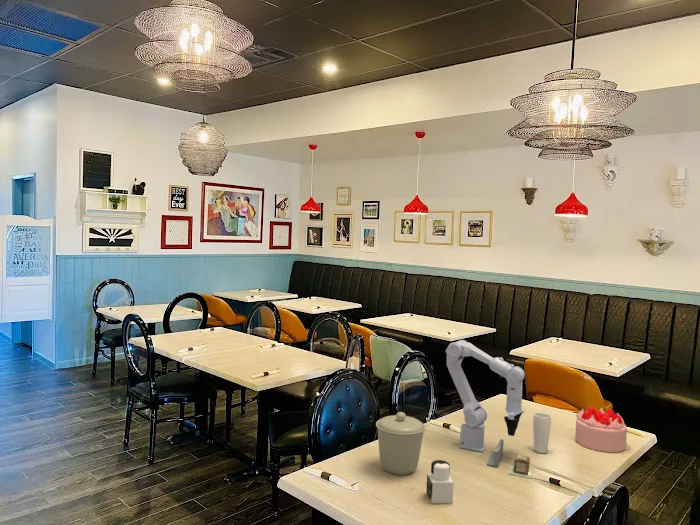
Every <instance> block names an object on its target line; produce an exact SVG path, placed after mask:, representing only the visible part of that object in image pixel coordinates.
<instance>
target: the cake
mask: <svg viewBox="0 0 700 525" xmlns="http://www.w3.org/2000/svg"><path fill="white" fill-rule="evenodd" d="M575 416H576V420H575V433H574V434H575V436H574V437H575V438H574V439H575V441H576V443H577V444H579V445H580V446H582V447H585V448H586V449H589V450H593V451H597V452H602V453H610V454H611V453H613V454H614V453H621V452H623V451H625V450H626V447H627V437H628V436H627V433H628V427H627V425H626V424H625V421H624V419H623V418H622V416H621V415H620V414H619V412H616V413H615V411H614V410H613V409H611V408H609V409H607V410H606V412H605V411H604V409H603V407H601V408H600V409H599V410H597V411H596V409H595V408H594V407H593V406H589V407H588V408H587V409H586V410H584V408H582V409H581V410H580V411H578V412H577V413H576V414H575Z"/></svg>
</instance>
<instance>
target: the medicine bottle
mask: <svg viewBox="0 0 700 525" xmlns="http://www.w3.org/2000/svg"><path fill="white" fill-rule="evenodd" d="M430 465H431V466H430V467H431V468H430V472H427V473H426V495H427V497H428V500H429V502H430V503H431V504H454V503H453V502H454V481H453V478H452V477H451V476H450V475H451V465H450V463H449V462H448V461H445V460H442V459H436V460H433V461H432V462H431V464H430Z"/></svg>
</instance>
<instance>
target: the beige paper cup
mask: <svg viewBox="0 0 700 525" xmlns="http://www.w3.org/2000/svg"><path fill="white" fill-rule="evenodd" d="M532 418H533V419H532V430H533V451H534V452H536V453H538V454H546V453H548V447H549V440H550V433H551V426H552V416H551V415H550V414H549V413H545V412H534V413H533V417H532Z"/></svg>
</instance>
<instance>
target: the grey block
mask: <svg viewBox="0 0 700 525" xmlns="http://www.w3.org/2000/svg"><path fill="white" fill-rule="evenodd" d="M504 440H505V439H501V438H500V439H499V441H498V443H497V446H496V448H495V451H494V450H493V451H492V452H491V453H490V456H489V458H488V461H487V462H486V466H488V467H493V468H496V469H497V468H499V465H500V464H501V463H500V462H501V460H502V458H503V455H504ZM501 457H502V458H501Z"/></svg>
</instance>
